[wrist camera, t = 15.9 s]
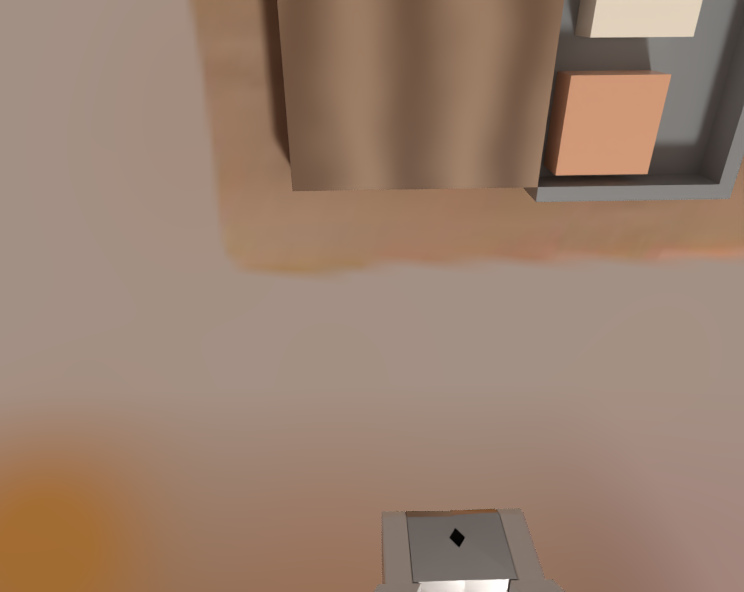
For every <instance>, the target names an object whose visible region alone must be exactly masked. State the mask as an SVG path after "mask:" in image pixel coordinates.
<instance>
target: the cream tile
mask: <svg viewBox="0 0 744 592" xmlns="http://www.w3.org/2000/svg"><path fill="white" fill-rule="evenodd" d="M702 1H703V0H580V5H579V11H578V17H577V24H576V30H575V36H582V37H590V38H597V37H693V36H694V32H695V29H696V25H697V21H698V17H699V13H700V9H701V5H702Z"/></svg>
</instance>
